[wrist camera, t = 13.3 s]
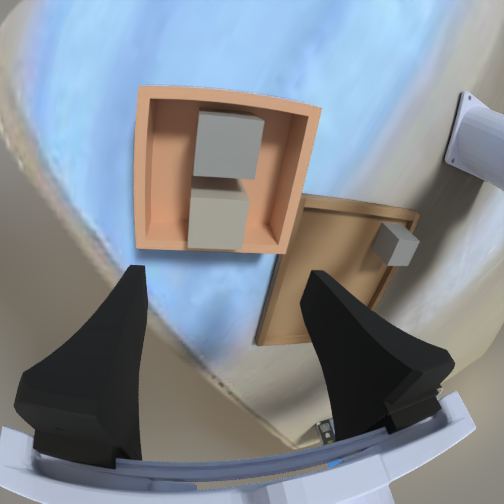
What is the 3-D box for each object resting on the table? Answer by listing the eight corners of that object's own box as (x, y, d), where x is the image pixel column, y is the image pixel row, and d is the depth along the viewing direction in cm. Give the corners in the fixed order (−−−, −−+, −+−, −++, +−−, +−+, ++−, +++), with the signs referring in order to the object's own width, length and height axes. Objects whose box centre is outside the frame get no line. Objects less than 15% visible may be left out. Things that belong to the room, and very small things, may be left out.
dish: (302, 101, 18) (322, 108, 15) (273, 229, 23) (285, 254, 20) (149, 84, 15) (138, 86, 12) (143, 223, 21) (136, 248, 18)
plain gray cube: (402, 224, 25) (419, 241, 23) (392, 248, 27) (407, 266, 24) (381, 222, 24) (399, 239, 22) (371, 247, 26) (387, 265, 24)
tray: (415, 210, 25) (420, 215, 24) (355, 331, 34) (358, 336, 33) (293, 192, 22) (297, 197, 21) (255, 339, 31) (256, 346, 30)
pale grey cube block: (233, 220, 21) (241, 249, 18) (188, 217, 21) (187, 247, 17) (240, 177, 20) (250, 201, 16) (191, 174, 19) (190, 197, 16)
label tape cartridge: (352, 410, 54) (370, 455, 45) (350, 416, 57) (366, 458, 47) (316, 422, 54) (331, 469, 44) (315, 427, 56) (329, 471, 46)
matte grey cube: (243, 159, 19) (254, 179, 16) (193, 156, 18) (193, 176, 15) (251, 112, 17) (264, 121, 14) (199, 107, 16) (199, 114, 13)
